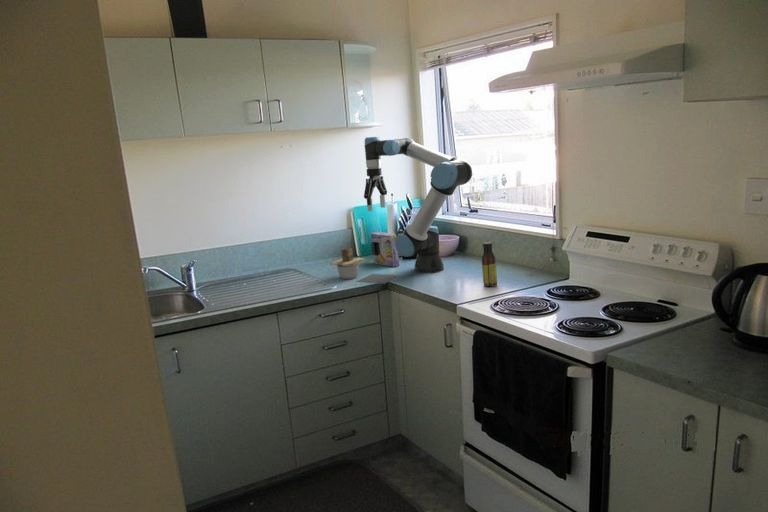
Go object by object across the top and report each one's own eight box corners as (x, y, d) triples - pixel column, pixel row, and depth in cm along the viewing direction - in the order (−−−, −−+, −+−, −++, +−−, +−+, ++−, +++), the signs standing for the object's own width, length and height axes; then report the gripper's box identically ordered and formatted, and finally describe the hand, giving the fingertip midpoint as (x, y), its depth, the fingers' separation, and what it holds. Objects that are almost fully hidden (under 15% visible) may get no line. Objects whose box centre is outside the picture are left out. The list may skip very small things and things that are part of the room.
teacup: (359, 280, 288) (357, 264, 286) (337, 281, 288) (336, 266, 287) (360, 273, 302) (359, 258, 300) (339, 274, 302) (338, 260, 300)
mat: (399, 276, 290) (399, 275, 290) (384, 284, 276) (384, 283, 276) (372, 274, 298) (372, 273, 297) (356, 282, 284) (356, 281, 284)
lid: (365, 260, 296) (364, 246, 294) (352, 266, 284) (351, 252, 283) (343, 259, 302) (342, 246, 300) (330, 264, 290) (329, 251, 289)
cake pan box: (371, 262, 324) (369, 232, 321) (379, 261, 327) (376, 230, 324) (392, 267, 309) (390, 235, 305) (400, 266, 312) (397, 234, 308)
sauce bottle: (498, 283, 263) (496, 241, 259) (496, 287, 257) (494, 244, 253) (483, 283, 265) (482, 241, 261) (481, 287, 259) (479, 244, 255)
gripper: (379, 166, 305) (382, 205, 309) (354, 170, 284) (358, 213, 288) (391, 165, 301) (394, 205, 306) (367, 169, 280) (371, 213, 285)
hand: (376, 209), depth 297 cm, fingers open, 13 cm apart
